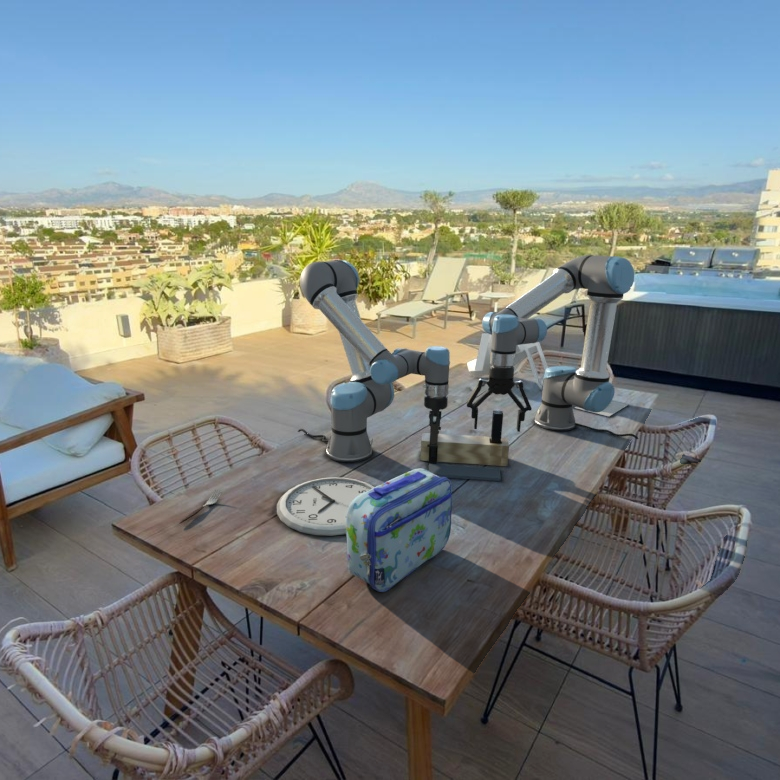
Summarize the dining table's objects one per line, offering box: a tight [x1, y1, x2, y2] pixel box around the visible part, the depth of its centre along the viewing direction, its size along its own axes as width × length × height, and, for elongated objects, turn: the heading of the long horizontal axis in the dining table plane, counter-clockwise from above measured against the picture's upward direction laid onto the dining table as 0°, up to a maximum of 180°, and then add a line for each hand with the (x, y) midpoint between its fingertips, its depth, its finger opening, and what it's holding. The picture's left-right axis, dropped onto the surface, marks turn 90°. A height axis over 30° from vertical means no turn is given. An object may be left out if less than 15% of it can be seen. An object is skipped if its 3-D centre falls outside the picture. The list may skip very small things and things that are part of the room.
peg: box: [490, 410, 504, 444], centre depth 169 cm, size 3×3×17 cm
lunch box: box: [345, 467, 453, 593], centre depth 115 cm, size 26×11×21 cm, turn 135°
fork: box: [178, 489, 223, 525], centre depth 139 cm, size 3×16×2 cm, turn 160°
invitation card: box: [573, 400, 629, 418], centre depth 226 cm, size 21×1×15 cm
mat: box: [428, 463, 502, 482], centre depth 162 cm, size 22×7×1 cm, turn 83°
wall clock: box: [276, 476, 376, 537], centre depth 142 cm, size 30×2×30 cm
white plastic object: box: [466, 332, 549, 390], centre depth 259 cm, size 37×45×31 cm
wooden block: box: [420, 432, 510, 467], centre depth 172 cm, size 28×7×7 cm, turn 83°
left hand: (433, 456), depth 174 cm, fingers open, 12 cm apart
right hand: (496, 429), depth 169 cm, fingers open, 13 cm apart
